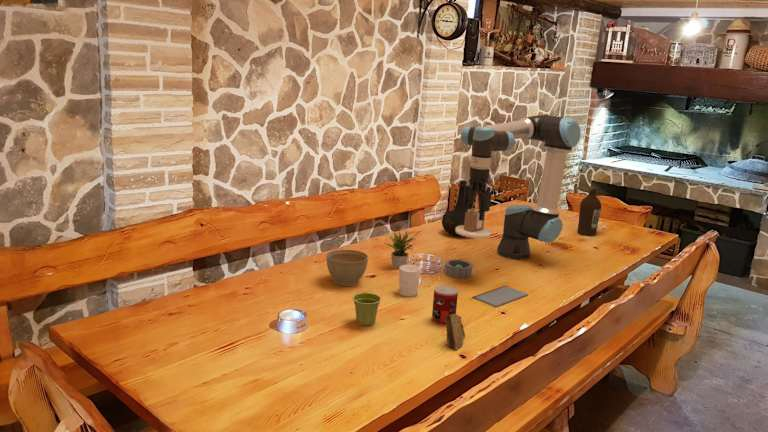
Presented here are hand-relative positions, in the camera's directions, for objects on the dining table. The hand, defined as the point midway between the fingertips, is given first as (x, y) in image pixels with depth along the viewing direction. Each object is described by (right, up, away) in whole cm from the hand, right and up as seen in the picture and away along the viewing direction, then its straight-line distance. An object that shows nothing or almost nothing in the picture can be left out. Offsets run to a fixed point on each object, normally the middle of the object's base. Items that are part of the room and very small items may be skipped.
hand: (473, 226), depth 243 cm
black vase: (+2, -6, +70) cm, 70 cm away
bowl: (-5, -20, +12) cm, 24 cm away
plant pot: (-41, -31, -37) cm, 64 cm away
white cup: (-26, -25, -10) cm, 38 cm away
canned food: (-15, -32, -32) cm, 47 cm away
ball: (-5, -19, +12) cm, 23 cm away
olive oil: (+72, -6, +86) cm, 113 cm away
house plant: (-29, -18, +15) cm, 37 cm away
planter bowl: (-50, -22, -3) cm, 54 cm away
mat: (+6, -25, -5) cm, 27 cm away
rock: (-12, -36, -47) cm, 61 cm away
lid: (0, -3, +1) cm, 3 cm away
